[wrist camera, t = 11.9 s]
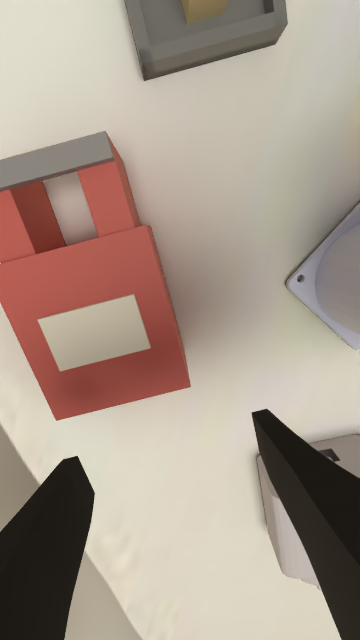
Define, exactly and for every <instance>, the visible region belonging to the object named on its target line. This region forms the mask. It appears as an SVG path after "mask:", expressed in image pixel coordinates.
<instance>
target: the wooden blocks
mask: <svg viewBox="0 0 360 640" xmlns="http://www.w3.org/2000/svg"><path fill="white" fill-rule="evenodd" d="M227 1H228V0H182V4H183V9H184V14H185V19H186V24H187V25H188V24H191V23H195V22H198V21H201V20H205V19H208V18H211V17H215V16H218V15H221V14H224V12H225V8H226V5H227Z"/></svg>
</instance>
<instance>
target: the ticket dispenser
mask: <svg viewBox="0 0 360 640" xmlns="http://www.w3.org/2000/svg"><path fill="white" fill-rule="evenodd" d="M75 171H77V173H78V176H79V179H80V182H81V185H82V188H83V191H84V194H85V197H86V200H87V203H88V206H89V209H90V212H91V215H92V218H93V221H94V224H95V227H96V230H97V233H98V236H99V238H95V239H92V240H88V241H84V242H80V243H77V244H73V245H69V246H66V245H65V242H64V239H63V236H62V234H61V231H60V228H59V226H58V223H57V220H56V218H55V215H54V212H53V209H52V207H51V204H50V201H49V199H48V196H47V193H46V190H45V188H44V185H43V183H42V182H40V181H42V180H46V179H49V178H53V177H57V176H60V175H64V174H68V173H71V172H75ZM0 263H1V264H0V302H1V305H2V307H3V309H4V311H5V313H6V315H7V317H8V319H9V322H10V324H11V326H12V328H13V330H14V332H15V334H16V336H17V339H18V341H19V343H20V345H21V347H22V349H23V351H24V353H25V355H26V358H27V360H28V362H29V364H30V366H31V368H32V370H33V372H34V375H35V377H36V379H37V381H38V383H39V385H40V387H41V389H42V392H43V394H44V396H45V398H46V400H47V402H48V404H49V406H50V409H51V411H52V413H53V415H54V417H55V419H56V421H57V420H61V419H65V418H69V417H73V416H77V415H81V414H85V413H89V412H93V411H97V410H101V409H105V408H109V407H113V406H117V405H121V404H125V403H129V402H133V401H137V400H140V399H144V398H148V397H152V396H156V395H160V394H164V393H168V392H172V391H176V390H180V389H184V388H188V387H191V385H190V379H189V374H188V368H187V362H186V356H185V351H184V347H183V343H182V340H181V336H180V332H179V329H178V325H177V321H176V318H175V314H174V310H173V306H172V303H171V299H170V295H169V292H168V288H167V284H166V281H165V277H164V273H163V270H162V266H161V262H160V258H159V255H158V251H157V247H156V244H155V240H154V236H153V233H152V229H151V226H148V225H144V226H141V224H140V221H139V217H138V214H137V210H136V206H135V203H134V199H133V196H132V192H131V189H130V185H129V182H128V178H127V174H126V171H125V167H124V164H123V160H122V159H121V157H120V155H119V154H118V152H117V150H116V148H115V147H114V145H113V143H112V142H111V140H110V138H109V136H108V135H107V133H106V131H103V132H100V133H96V134H93V135H89V136H85V137H82V138H78V139H74V140H71V141H67V142H64V143H60V144H56V145H53V146H49V147H45V148H42V149H38V150H35V151H31V152H27V153H24V154H20V155H16V156H13V157H9V158H6V159H2V160H0Z"/></svg>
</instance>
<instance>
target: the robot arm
mask: <svg viewBox="0 0 360 640" xmlns="http://www.w3.org/2000/svg"><path fill="white" fill-rule="evenodd" d="M299 275H302V279H301V280H300V281H297V278H298V276H299ZM286 286H287V288H288V289H289V290H290V291H291V292H292V293H293V294H294V295H295V296H296V297H297V298H298V299H300V300H301V301H302V302H303V303H304V304H305V305H306V306H307V307H308V308H309V309H310V310H311V311H313V312H314V313H315V314H316V315H317V316H318V317H319V318H320V319H321V320H322V321H323V322H324V323H326V324H327V325H328V326H329V327H330V328H331V329H332V330H333V331H334V332H335V333H336V334H337V335H339V336H340V337H341V338H342V339H343V340H344V341H345V342H346V343H347V344H348V345H349V346H351V347H352V348H354V349H355V350H359V349H360V202H359V203H358V205H357V206H356V207H355V208H354V209H353V210H352V211H351V212H350V213H349V214H348V215H347V216H346V217H345V219H344V220H343V221H342V222H341V223H340V224H339V225H338V226H337V227H336V228H335V229H334V230H333V231H332V233H331V234H330V235H329V236H328V237H327V238H326V239H325V240H324V241H323V242H322V243H321V244H320V245H319V247H318V248H317V249H316V250H315V251H314V252H313V253H312V254H311V255H310V256H309V257H308V258H307V259H306V261H305V262H304V263H303V264H302V265H301V266H300V267H299V268H298V269H297V270H296V271H295V272H294V274H293V275H292V276H291V277H290V278H289V279H288V280H287V283H286ZM252 418H253V423H254V427H255V432H256V437H257V442H258V447H259V452H260V455H261V458H262V460H263V463H264V466H265V468H266V471H267V473H268V476H269V478H270V480H271V483H272V485H273V487H274V489H275V491H276V493H277V495H278V497H279V499H280V501H281V503H282V505H283V506H284V508H285V510H286V512H287V514H288V516H289V518H290V520H291V522H292V524H293V526H294V528H295V530H296V532H297V534H298V536H299V538H300V540H301V542H302V545H303V547H304V549H305V551H306V553H307V556H308V558H309V560H310V563H311V565H312V568H313V570H314V573H315V575H316V577H317V580H318V582H319V585H320V587H321V590H322V592H323V595H324V597H325V599H326V602H327V604H328V607H329V609H330V612H331V614H332V617H333V619H334V622H335V624H336V627H337V629H338V632H339V634H340V637H341V639H342V640H360V478H358V477H357V476H355V475H354V474H352V473H350V472H349V471H347V470H345V469H344V468H342V467H341V466H339V465H338V464H336V463H335V462H333V461H332V460H330V459H329V458H327V457H326V456H324V455H323V454H322V453H320V452H319V451H317V450H316V449H315V448H313V447H312V446H311V445H309V444H308V443H307V442H305V441H304V440H303V439H302V438H300V437H299V436H298V435H296V434H295V433H294V432H293V431H292V430H290V429H289V428H288V427H287V426H286V425H285V424H283V423H282V422H281V421H280V420H279V419H278V418H277V417H276V416H275V415H274V414H272V413H271V412H270V411H269V410H268V409H264V410H260V411H256V412H252ZM94 495H95V493H94V490H93V488H92V486H91V484H90V482H89V480H88V477H87V475H86V473H85V471H84V469H83V467H82V465H81V462H80V460H79V458H78V456H75V457H71V458H67V459H63V460H62V461H61V462H60V463H59V464H58V466H57V467H56V468H55V469H54V470H53V471H52V473H51V474H50V475H49V476H48V477H47V479H46V480H45V481H44V482H43V483H42V485H41V486H40V487H39V488H38V489H37V491H36V492H35V493H34V494H33V495H32V496H31V498H30V499H29V500H28V501H27V502H26V504H25V505H24V506H23V507H22V508H21V509H20V511H19V512H18V513H17V514H16V515H15V516H14V517H13V518H12V520H11V521H10V522H9V523H8V524H7V525H6V526H5V527H4V528H3V530H2V531H1V532H0V640H64V638H65V632H66V626H67V620H68V615H69V609H70V605H71V600H72V596H73V591H74V587H75V584H76V580H77V576H78V572H79V568H80V564H81V560H82V556H83V552H84V548H85V544H86V540H87V536H88V532H89V528H90V524H91V518H92V512H93V504H94Z"/></svg>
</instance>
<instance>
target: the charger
mask: <svg viewBox="0 0 360 640" xmlns="http://www.w3.org/2000/svg"><path fill="white" fill-rule="evenodd" d="M309 445H311V446H312V447H313V448H315V449H316V450H317V451H319V452H320V453H322V454H323V455H324V456H326V457H327V458H329V459H330V460H332V461H333V462H335V463H336V464H338V465H339V466H341V467H342V468H344V469H345V470H347V471H349V472H350V473H352V474H354V475H355V476H357V477H358V478H360V435H354V434H352V435H347V436H342V437H337V438H333V439H328V440H323V441H318V442H314V443H309ZM330 448H331V449H330ZM325 449H328V450H325ZM320 450H323V451H320ZM257 463H258V469H259V476H260V482H261V489H262V496H263V502H264V509H265V515H266V522H267V529H268V534H269V537H270V540H271V543H272V545H273V548H274V551H275V554H276V557H277V560H278V563H279V566H280V569H281V571H282V572H283V574H285V575H286V576H288V577H291V578H295V579H301V580H302V581H304V582H307V583H310V584H313V585H316V586H317V588H318V589H319V590H321V587H320V585H319V582H318V580H317V577H316V575H315V573H314V570H313V568H312V565H311V563H310V560H309V558H308V556H307V553H306V551H305V549H304V547H303V545H302V542H301V540H300V538H299V536H298V534H297V532H296V530H295V528H294V526H293V524H292V522H291V520H290V518H289V516H288V514H287V512H286V510H285V508H284V506H283V505H282V503H281V501H280V499H279V497H278V495H277V493H276V491H275V489H274V487H273V485H272V483H271V480H270V478H269V476H268V473H267V471H266V468H265V466H264V463H263V460H262V458H261V455H259V456H258V458H257Z"/></svg>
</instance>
